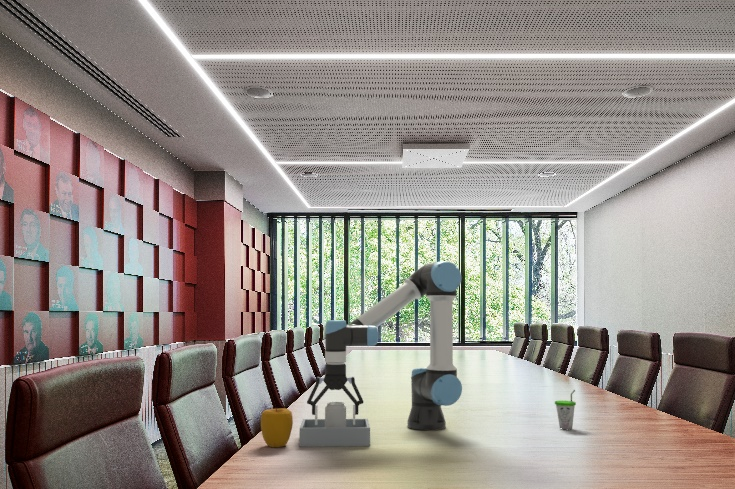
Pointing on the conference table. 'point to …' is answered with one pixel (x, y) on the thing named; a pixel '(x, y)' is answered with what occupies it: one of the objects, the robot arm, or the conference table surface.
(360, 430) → the walled box
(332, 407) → the can
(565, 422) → the cup
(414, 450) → the conference table surface
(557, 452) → the conference table surface
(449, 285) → the robot arm
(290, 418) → the apple
